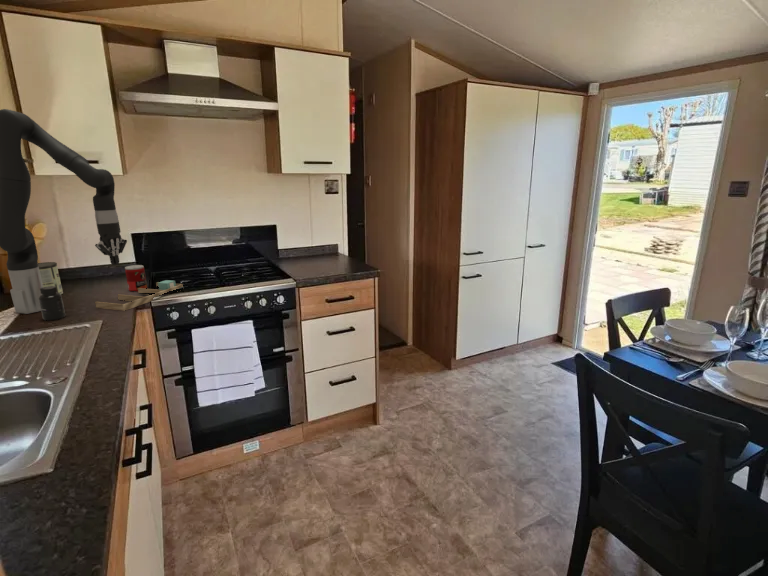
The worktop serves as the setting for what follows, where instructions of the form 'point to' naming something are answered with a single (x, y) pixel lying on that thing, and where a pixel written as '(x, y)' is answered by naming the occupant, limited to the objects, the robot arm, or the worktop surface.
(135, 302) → the bay rack
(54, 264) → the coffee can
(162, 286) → the plain green block
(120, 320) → the worktop surface
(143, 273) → the canned food
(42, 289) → the supplement bottle
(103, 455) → the worktop surface
